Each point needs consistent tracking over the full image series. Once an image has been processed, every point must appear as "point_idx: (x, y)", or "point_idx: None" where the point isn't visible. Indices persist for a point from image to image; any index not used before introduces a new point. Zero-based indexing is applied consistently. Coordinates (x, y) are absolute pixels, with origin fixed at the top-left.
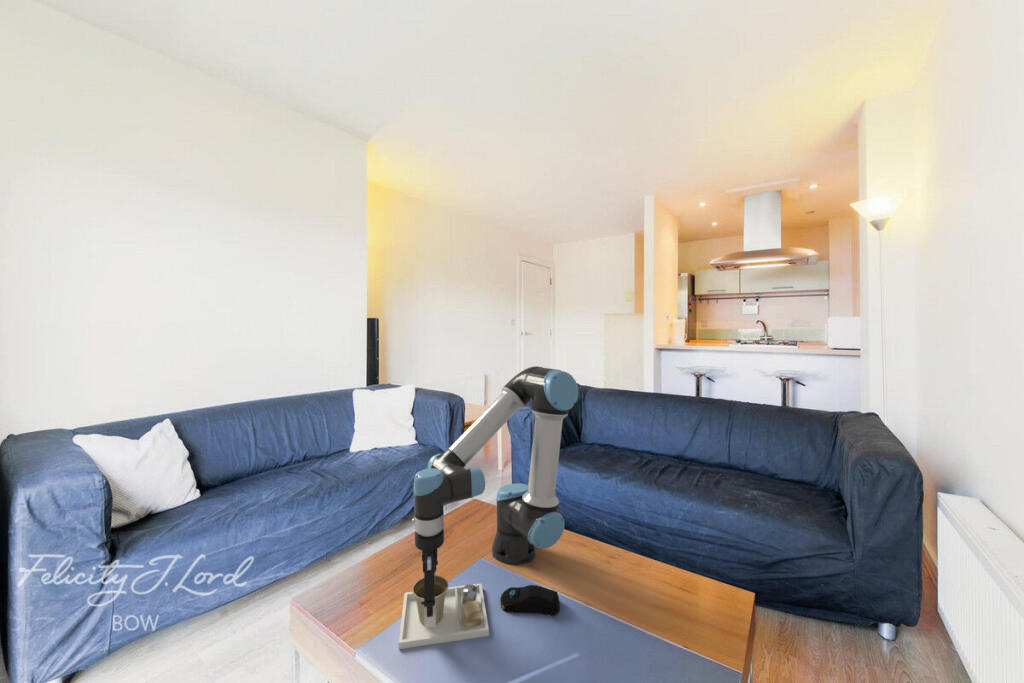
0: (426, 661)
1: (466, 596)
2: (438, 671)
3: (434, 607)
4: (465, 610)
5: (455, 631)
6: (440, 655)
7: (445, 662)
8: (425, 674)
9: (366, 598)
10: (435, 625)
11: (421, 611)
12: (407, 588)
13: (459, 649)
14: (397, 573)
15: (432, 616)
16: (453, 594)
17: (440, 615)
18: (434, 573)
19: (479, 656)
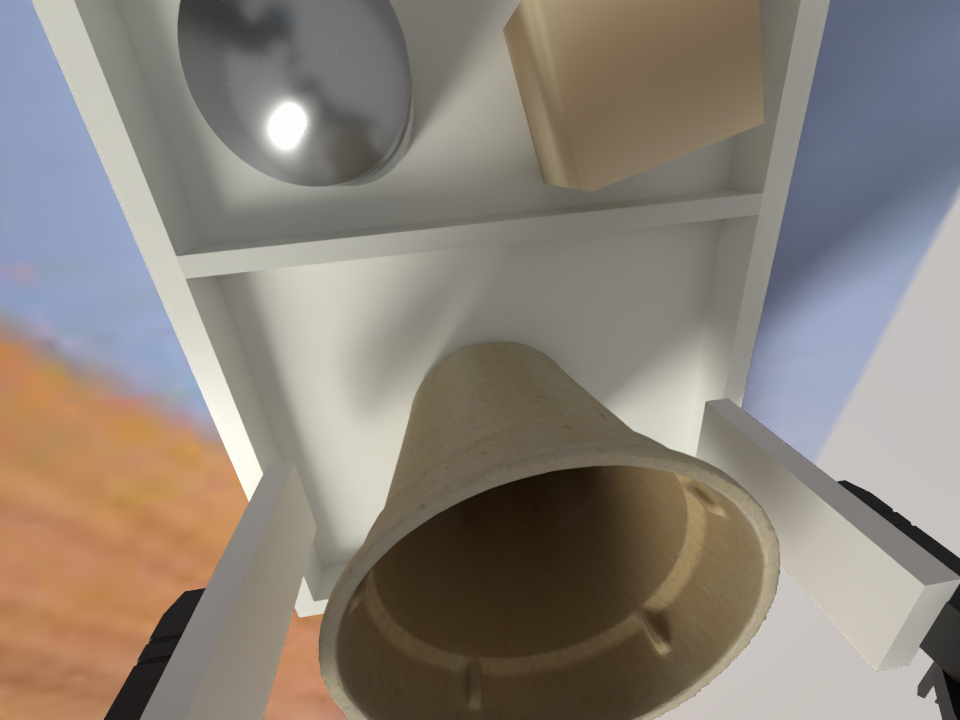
0: (791, 378)
1: (404, 128)
2: (881, 307)
3: (873, 520)
4: (693, 135)
5: (661, 229)
6: (785, 310)
7: (844, 275)
8: (864, 369)
9: (311, 708)
10: (731, 402)
11: (600, 526)
12: (195, 583)
13: (791, 188)
14: (51, 663)
15: (841, 481)
16: (226, 278)
17: (558, 368)
18: (231, 637)
19: (916, 18)
